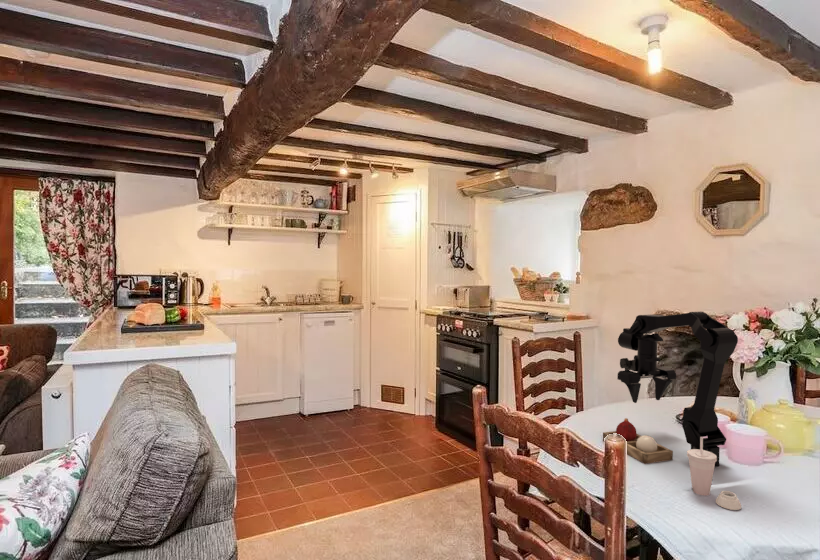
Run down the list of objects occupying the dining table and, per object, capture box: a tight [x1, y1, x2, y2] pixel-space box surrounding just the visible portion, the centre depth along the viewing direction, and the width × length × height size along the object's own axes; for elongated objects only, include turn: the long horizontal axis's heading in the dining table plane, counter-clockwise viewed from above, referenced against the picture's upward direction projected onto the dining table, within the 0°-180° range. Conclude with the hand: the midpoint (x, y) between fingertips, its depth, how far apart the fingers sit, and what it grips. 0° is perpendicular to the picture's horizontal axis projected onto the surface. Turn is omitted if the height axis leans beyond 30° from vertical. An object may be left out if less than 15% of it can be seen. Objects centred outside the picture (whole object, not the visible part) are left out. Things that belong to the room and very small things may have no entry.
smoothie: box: [686, 437, 717, 497], centre depth 120 cm, size 6×6×14 cm
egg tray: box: [602, 430, 674, 464], centre depth 145 cm, size 18×10×4 cm, turn 15°
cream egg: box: [636, 435, 658, 453], centre depth 140 cm, size 6×6×6 cm
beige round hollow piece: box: [715, 490, 742, 511], centre depth 113 cm, size 5×3×5 cm
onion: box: [615, 417, 638, 442], centre depth 149 cm, size 6×6×8 cm
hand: (646, 401), depth 156 cm, fingers open, 9 cm apart
